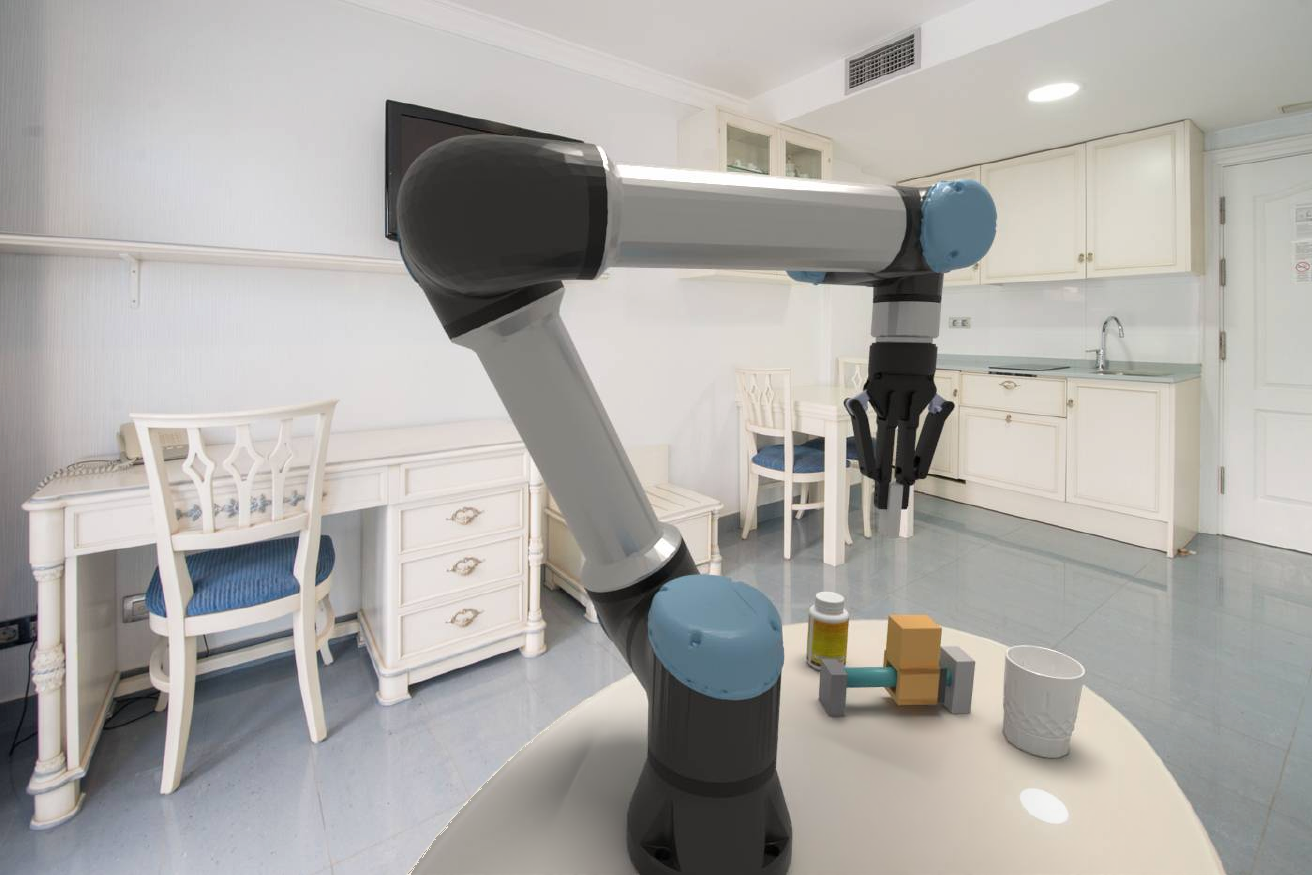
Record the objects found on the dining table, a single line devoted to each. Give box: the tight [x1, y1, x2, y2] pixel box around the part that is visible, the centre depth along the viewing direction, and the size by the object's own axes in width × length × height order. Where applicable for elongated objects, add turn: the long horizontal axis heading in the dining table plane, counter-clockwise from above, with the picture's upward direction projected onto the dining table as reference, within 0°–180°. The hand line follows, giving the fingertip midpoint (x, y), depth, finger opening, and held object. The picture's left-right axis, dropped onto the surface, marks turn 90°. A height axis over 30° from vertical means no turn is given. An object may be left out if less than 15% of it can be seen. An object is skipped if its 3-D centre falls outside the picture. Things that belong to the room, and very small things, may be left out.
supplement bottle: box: [805, 591, 850, 671], centre depth 92 cm, size 6×6×10 cm
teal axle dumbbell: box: [818, 645, 976, 718], centre depth 81 cm, size 18×5×7 cm, turn 94°
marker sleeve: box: [882, 614, 943, 706], centre depth 81 cm, size 5×5×10 cm
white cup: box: [1002, 644, 1086, 759], centre depth 75 cm, size 8×8×10 cm
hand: (888, 534), depth 79 cm, fingers closed
